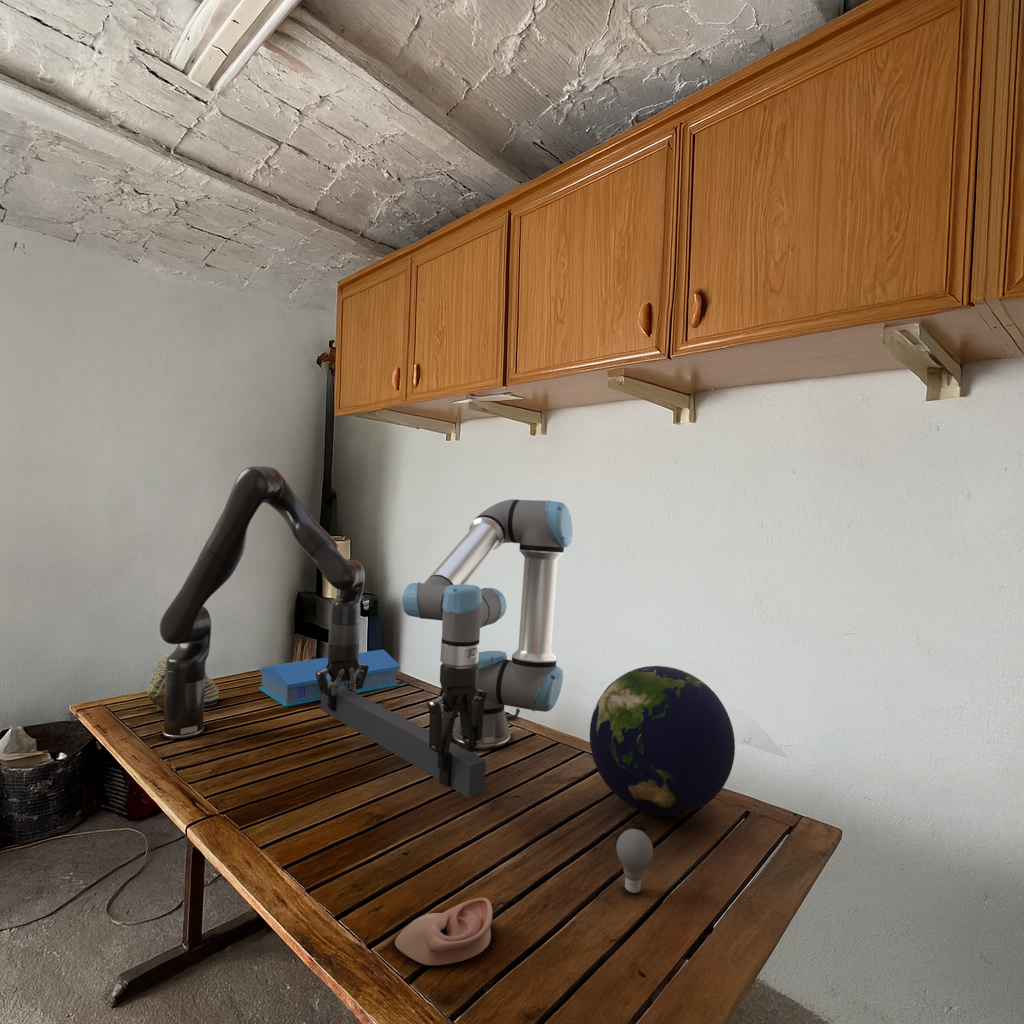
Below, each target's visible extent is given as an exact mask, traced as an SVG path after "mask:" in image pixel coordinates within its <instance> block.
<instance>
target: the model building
mask: <svg viewBox="0 0 1024 1024" xmlns="http://www.w3.org/2000/svg"><path fill="white" fill-rule="evenodd" d="M358 662H359V664H365V665H367V666H368V667H369V669H368V672H367V675H366V678H365V681H364V684H363V687H362V688H361V689H358V690H356V692H355V693H356V694H359V693H364V692H365V693H366V692H369V691H373V690H381V689H385V688H390V687H391V688H392V687H395V686H399V683H398V682H397V670H400V669H401V665H400V664H399V663H398V662H397V661H396V660H395V659H394V658H393V657H392V656H391V654H389V653H388V652H387V651H386V650H385V649H376V650H368V651H363V652H359V658H358ZM327 664H328V656H327V657H321V658H315V659H314V658H313V659H307V660H300V661H293V662H287V663H278V664H272V665H268V666H264V667H263V666H262V667H260V668H259V672H260V673H261V686H260V687H258V690H260V691H261V692H262V693H264V694H265V695H267V696H268V697H270V698H271V699H273V700H274V701H276V702H277V703H279V704H280V705H282V706H283V707H290V706H297V705H302V704H307V703H312V702H317V701H321V692H320V688H319V685H318V681H317V678H316V674H315V673H316V671H322V670H324V669H326V666H327ZM357 673H358V671H356V672H355V674H354V677H355V679H356V676H357ZM329 679H330V675H329V674H327V678H326V681H327V684H329ZM340 685H341V686H343V687H345V688H347V685H346V682H345V681H342V682H340Z"/></svg>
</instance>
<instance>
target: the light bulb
mask: <svg viewBox="0 0 1024 1024" xmlns="http://www.w3.org/2000/svg"><path fill="white" fill-rule="evenodd" d="M615 849H616V854H617V857H618V859H619V861H620V863H621V865H622V867H623V873H624V874H623V875H624V876H625V878H624V888H625V890H627V891H628V892H630V893H634V894H635V893H639V892H640V891H641V889H642V887H641V886H642V879H643V877H644V875H645V871H646V868H647V867H648V866H649V864H650V863H651V861H652V859H653V855H654V847H653V843H652V841H651V838H649V836H648V835H647V834H646V833H645V832H643V831H642V830H641V829H636V828H629V829H627V830H625V831H623V832H622V833H621V834H620V835H619V837H618V839H617V841H616V847H615Z"/></svg>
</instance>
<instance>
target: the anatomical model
mask: <svg viewBox="0 0 1024 1024" xmlns="http://www.w3.org/2000/svg"><path fill="white" fill-rule="evenodd" d="M492 922H493V907H492V903H491V900H489V898H486V897H477V898H473V899H470V900H466V901H464V902H461V903H459V904H457V905H454V906H452V907H450V908H449V909H447V910H444V911H443V912H433V913H432V912H431V913H426V914H423V915H421V916H418V917H416V919H414V920H412V921H411V922H410V923H409V924H407V925H406V926H405V927H404V928H403V929H402V930H401V932H400V933H399V934H398V935H397V936H396V938H395V940H394V946H395V947H396V948H397V950H399V952H401V953H402V954H403V955H405V957H408V958H409V959H411V960H413V961H414V962H416V963H419V964H421V965H424V966H431V967H432V966H443V965H450V964H454V963H459V962H462V961H465V960H468V959H471V958H473V957H476V956H477V955H479V954H481V953H482V952H484V951H485V950H486V949H487V947H488V946H489V945H490V943H491V937H492V936H491V935H492V934H491V926H492Z"/></svg>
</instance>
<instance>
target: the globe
mask: <svg viewBox="0 0 1024 1024" xmlns="http://www.w3.org/2000/svg"><path fill="white" fill-rule="evenodd" d="M735 739H736V738H735V732H734V728H733V724H732V721H731V718H730V716H729V713H728V711H727V709H726V707H725V705H724V703H722V701H721V699H720V698H719V696H718V695H717V694H716V692H715V691H713V689H712V688H711V687H709V685H707V684H706V683H705V682H704V681H702V680H701V679H700V678H698V677H696V676H695V675H693V674H691V673H689V672H687V671H685V670H682V669H680V668H675V667H672V666H667V665H648V666H643V667H637V668H635V669H632V670H629V671H627V672H626V673H624V674H622V675H620V676H618V677H617V678H616V679H615V680H614V681H612V682H611V683H610V684H609V685H608V686H607V687H606V688H605V689H604V691H603V692H602V694H601V695H600V697H599V699H597V701H596V704H595V706H594V709H593V711H592V715H591V720H590V725H589V745H590V751H591V755H592V759H593V763H594V765H595V767H596V769H597V772H598V774H599V775H600V777H601V779H602V780H603V781H604V784H605V785H606V786H607V787H608V788H609V790H610V791H611V792H612V793H613V794H614V795H616V797H617V798H619V800H621V801H622V802H623V803H625V804H627V805H628V806H630V807H632V808H633V809H636V810H637V811H640V812H643V813H646V814H649V815H653V816H660V817H678V816H683V815H686V814H690V813H693V812H695V811H697V810H699V809H701V808H703V807H705V806H707V804H709V803H710V802H711V801H713V800H714V799H715V798H716V797H717V796H718V794H719V793H721V791H722V789H723V788H724V786H725V784H726V783H727V781H728V780H729V777H730V775H731V773H732V769H733V766H734V762H735V756H736V755H735V754H736V740H735Z"/></svg>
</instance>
